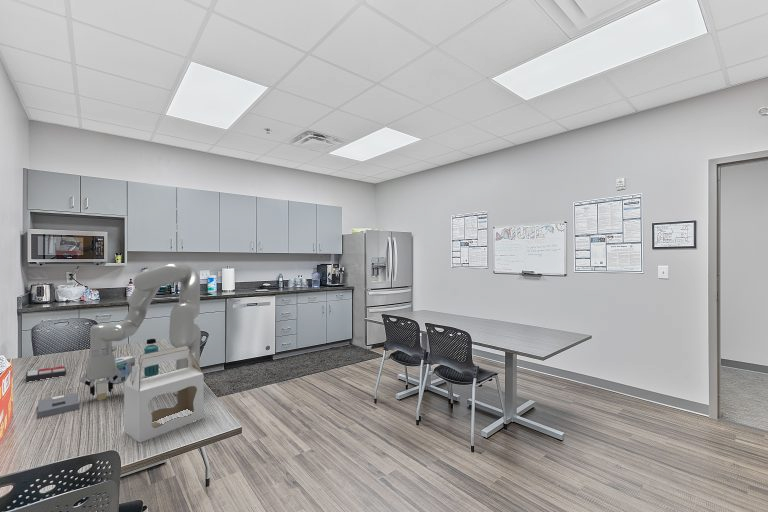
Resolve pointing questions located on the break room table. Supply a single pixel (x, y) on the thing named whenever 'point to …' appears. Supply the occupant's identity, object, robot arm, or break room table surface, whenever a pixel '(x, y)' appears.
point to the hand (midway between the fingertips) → (101, 392)
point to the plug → (101, 389)
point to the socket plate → (57, 405)
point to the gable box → (180, 380)
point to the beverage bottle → (149, 349)
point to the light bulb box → (123, 368)
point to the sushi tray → (45, 373)
